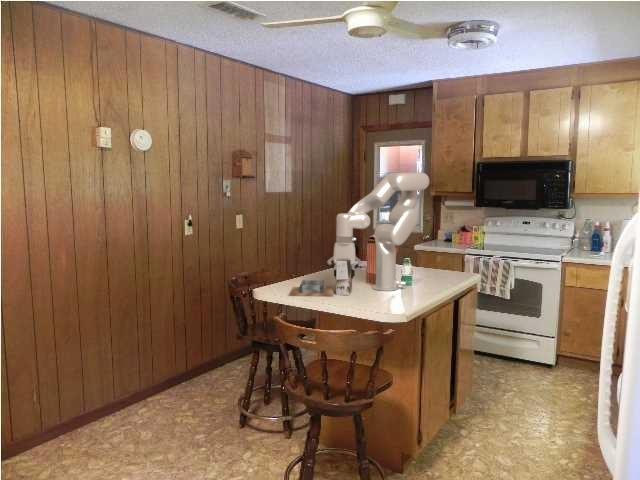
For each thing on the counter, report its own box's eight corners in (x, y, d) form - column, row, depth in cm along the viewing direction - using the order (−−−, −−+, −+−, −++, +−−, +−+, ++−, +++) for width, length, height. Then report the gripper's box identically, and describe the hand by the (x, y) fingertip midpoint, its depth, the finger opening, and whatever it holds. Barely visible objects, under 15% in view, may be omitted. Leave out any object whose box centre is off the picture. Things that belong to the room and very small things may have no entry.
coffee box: (349, 295, 225) (349, 260, 224) (335, 295, 227) (335, 260, 225) (352, 291, 234) (352, 257, 233) (339, 290, 236) (339, 257, 234)
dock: (334, 289, 238) (334, 280, 238) (333, 296, 223) (333, 286, 223) (293, 289, 240) (292, 279, 239) (289, 295, 225) (289, 285, 224)
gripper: (363, 239, 231) (362, 276, 233) (326, 239, 232) (326, 276, 234) (363, 241, 224) (363, 279, 226) (325, 240, 225) (325, 279, 227)
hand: (344, 277), depth 230 cm, fingers closed on coffee box, 6 cm apart
